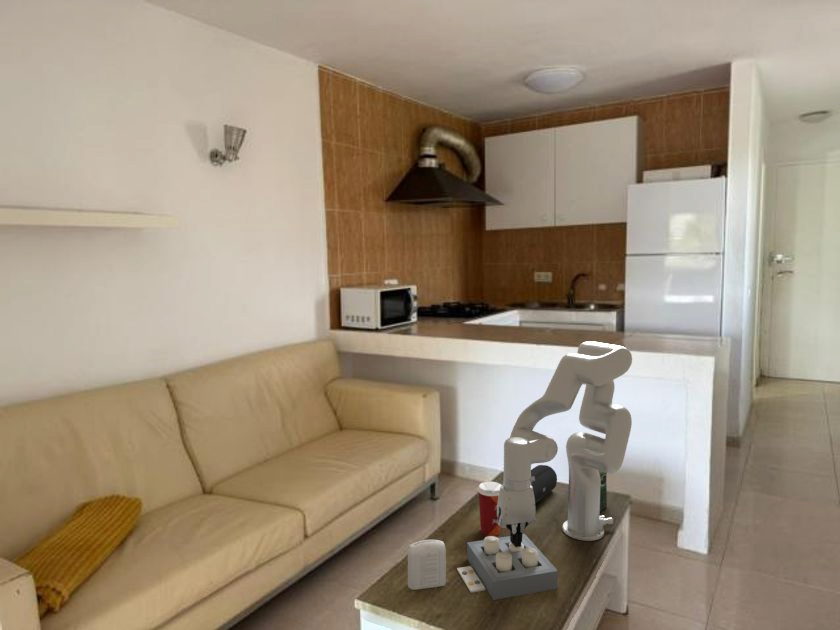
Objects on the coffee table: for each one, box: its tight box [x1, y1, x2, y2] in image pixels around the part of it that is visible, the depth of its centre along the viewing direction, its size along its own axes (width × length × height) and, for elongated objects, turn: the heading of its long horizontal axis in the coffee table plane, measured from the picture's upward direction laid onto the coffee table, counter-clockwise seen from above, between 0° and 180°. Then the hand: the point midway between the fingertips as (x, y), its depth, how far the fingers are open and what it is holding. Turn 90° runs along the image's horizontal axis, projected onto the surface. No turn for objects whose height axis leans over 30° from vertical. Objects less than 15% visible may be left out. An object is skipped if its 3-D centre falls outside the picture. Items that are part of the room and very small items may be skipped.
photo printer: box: [407, 539, 447, 591], centre depth 151 cm, size 10×4×12 cm, turn 103°
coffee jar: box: [598, 470, 608, 512], centre depth 195 cm, size 10×8×19 cm
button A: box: [509, 542, 524, 564], centre depth 161 cm, size 4×4×5 cm
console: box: [466, 533, 559, 601], centre depth 156 cm, size 18×20×5 cm
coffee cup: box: [477, 481, 502, 537], centre depth 179 cm, size 8×8×15 cm
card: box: [457, 565, 486, 593], centre depth 154 cm, size 4×11×1 cm, turn 15°
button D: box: [495, 552, 513, 573], centre depth 151 cm, size 4×4×5 cm
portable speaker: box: [531, 464, 558, 505], centre depth 200 cm, size 26×10×10 cm, turn 143°
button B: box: [522, 548, 538, 569], centre depth 153 cm, size 4×4×5 cm
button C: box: [483, 536, 499, 556], centre depth 159 cm, size 4×4×5 cm
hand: (516, 544), depth 161 cm, fingers closed
